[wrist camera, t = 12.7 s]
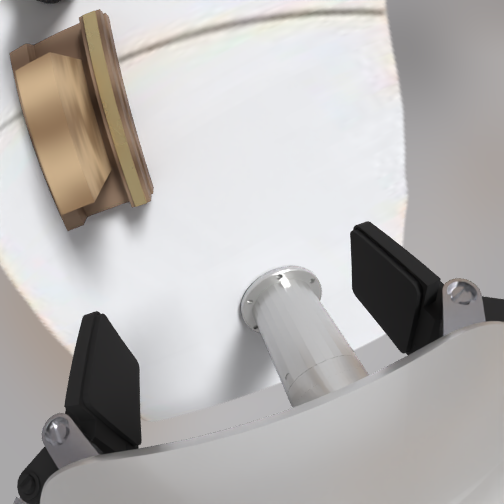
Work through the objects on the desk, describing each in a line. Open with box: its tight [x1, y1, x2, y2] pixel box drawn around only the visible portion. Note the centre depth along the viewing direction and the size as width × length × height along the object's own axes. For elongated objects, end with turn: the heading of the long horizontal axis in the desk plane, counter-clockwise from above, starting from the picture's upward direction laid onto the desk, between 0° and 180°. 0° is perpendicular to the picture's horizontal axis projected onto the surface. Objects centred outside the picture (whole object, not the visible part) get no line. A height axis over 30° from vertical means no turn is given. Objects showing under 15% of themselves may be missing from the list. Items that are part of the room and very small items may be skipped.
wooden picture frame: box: [15, 52, 112, 215], centre depth 20 cm, size 12×3×9 cm, turn 10°
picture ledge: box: [10, 9, 154, 231], centre depth 24 cm, size 20×10×4 cm, turn 11°
